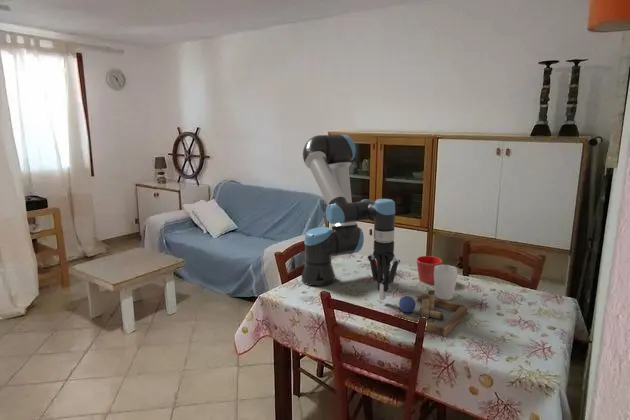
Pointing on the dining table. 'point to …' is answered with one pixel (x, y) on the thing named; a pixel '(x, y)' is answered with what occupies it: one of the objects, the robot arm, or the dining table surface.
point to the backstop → (449, 324)
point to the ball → (407, 304)
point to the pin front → (434, 314)
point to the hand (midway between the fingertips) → (382, 298)
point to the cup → (445, 281)
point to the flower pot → (427, 268)
